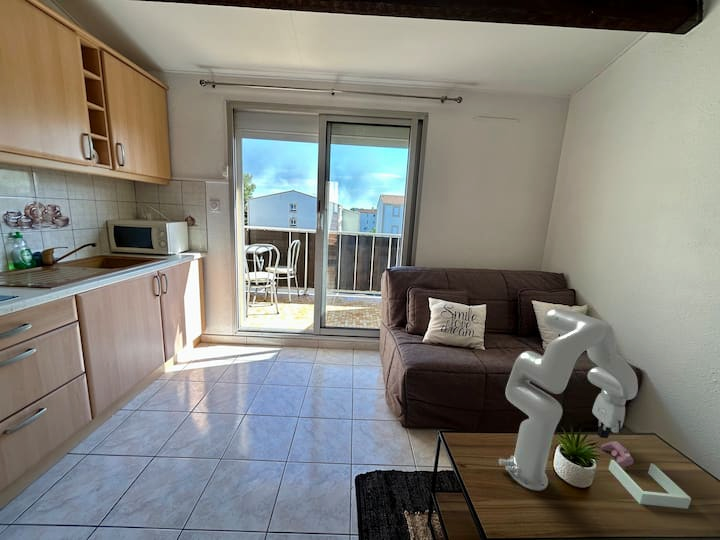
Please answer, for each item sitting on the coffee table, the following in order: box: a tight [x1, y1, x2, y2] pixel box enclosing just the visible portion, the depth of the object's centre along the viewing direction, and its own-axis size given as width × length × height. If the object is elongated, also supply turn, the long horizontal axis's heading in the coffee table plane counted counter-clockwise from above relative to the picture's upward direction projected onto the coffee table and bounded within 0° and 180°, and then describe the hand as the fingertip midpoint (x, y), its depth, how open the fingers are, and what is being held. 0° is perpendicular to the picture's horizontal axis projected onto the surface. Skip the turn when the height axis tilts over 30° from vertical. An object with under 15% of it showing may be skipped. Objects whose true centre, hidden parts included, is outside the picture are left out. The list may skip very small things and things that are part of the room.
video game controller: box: [600, 440, 634, 469], centre depth 111 cm, size 10×5×7 cm, turn 169°
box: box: [608, 459, 692, 510], centre depth 100 cm, size 15×13×4 cm
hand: (602, 436), depth 120 cm, fingers closed
